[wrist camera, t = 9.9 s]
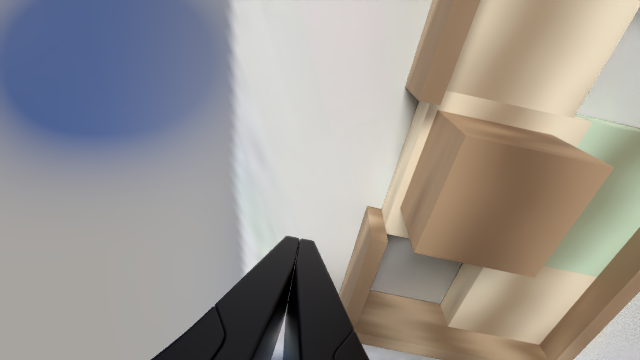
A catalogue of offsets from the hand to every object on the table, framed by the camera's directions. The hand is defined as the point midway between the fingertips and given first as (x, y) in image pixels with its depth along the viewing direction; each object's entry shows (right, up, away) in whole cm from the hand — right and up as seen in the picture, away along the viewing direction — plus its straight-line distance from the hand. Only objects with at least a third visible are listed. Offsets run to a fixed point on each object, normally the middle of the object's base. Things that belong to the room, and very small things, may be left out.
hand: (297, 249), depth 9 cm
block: (+9, +2, +8) cm, 12 cm away
